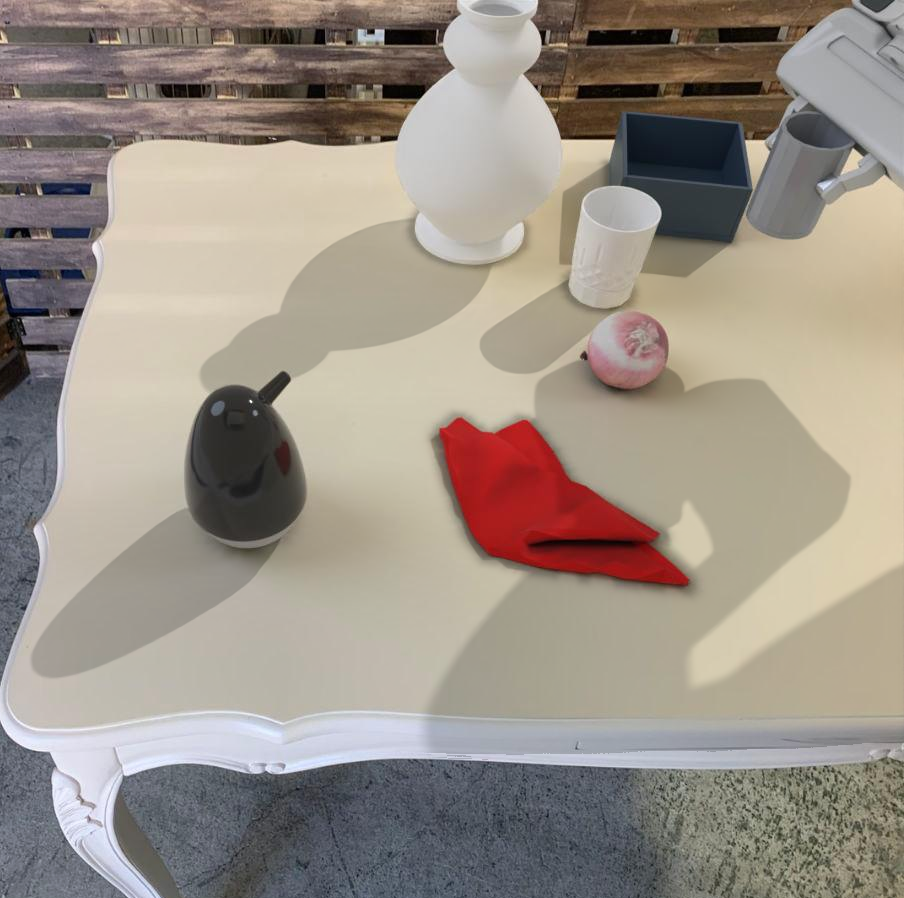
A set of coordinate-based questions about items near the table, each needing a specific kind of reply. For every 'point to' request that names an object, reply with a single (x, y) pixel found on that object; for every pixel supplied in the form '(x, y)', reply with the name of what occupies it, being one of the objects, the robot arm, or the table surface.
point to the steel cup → (797, 175)
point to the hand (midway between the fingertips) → (794, 173)
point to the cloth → (544, 508)
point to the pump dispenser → (244, 466)
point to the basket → (685, 171)
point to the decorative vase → (481, 138)
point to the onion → (627, 350)
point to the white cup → (611, 244)
